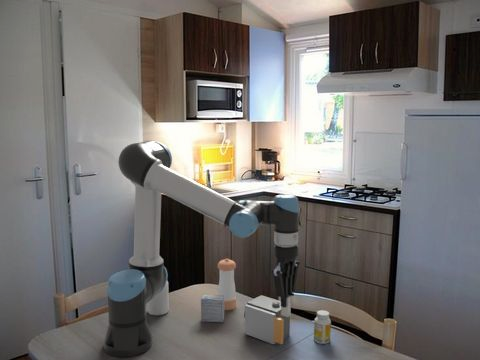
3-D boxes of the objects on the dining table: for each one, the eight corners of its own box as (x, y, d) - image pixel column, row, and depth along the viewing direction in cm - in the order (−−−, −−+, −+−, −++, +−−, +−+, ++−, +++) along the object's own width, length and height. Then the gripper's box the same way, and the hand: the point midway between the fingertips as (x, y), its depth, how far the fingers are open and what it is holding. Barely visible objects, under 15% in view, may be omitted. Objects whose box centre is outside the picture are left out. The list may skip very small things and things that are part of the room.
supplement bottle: (315, 344, 153) (315, 316, 152) (312, 336, 159) (313, 309, 157) (331, 344, 153) (332, 316, 152) (328, 336, 158) (329, 309, 157)
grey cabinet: (242, 331, 162) (242, 298, 160) (256, 323, 168) (256, 291, 166) (276, 344, 153) (276, 309, 151) (289, 335, 159) (290, 301, 157)
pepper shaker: (216, 303, 185) (216, 255, 182) (235, 302, 186) (235, 255, 183) (217, 310, 178) (217, 261, 175) (237, 310, 179) (237, 261, 176)
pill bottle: (158, 305, 183) (157, 268, 180) (173, 310, 178) (172, 272, 176) (142, 312, 176) (141, 273, 174) (158, 318, 172) (157, 278, 169)
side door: (244, 333, 159) (245, 305, 158) (247, 332, 160) (247, 304, 158) (281, 347, 150) (281, 317, 148) (283, 345, 151) (284, 316, 149)
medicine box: (224, 317, 172) (224, 295, 171) (222, 323, 168) (222, 299, 167) (203, 316, 173) (202, 294, 172) (200, 322, 169) (200, 298, 167)
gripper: (284, 251, 141) (284, 325, 144) (307, 241, 151) (306, 311, 154) (264, 246, 145) (264, 319, 149) (287, 237, 155) (286, 305, 159)
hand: (285, 315), depth 152 cm, fingers closed
